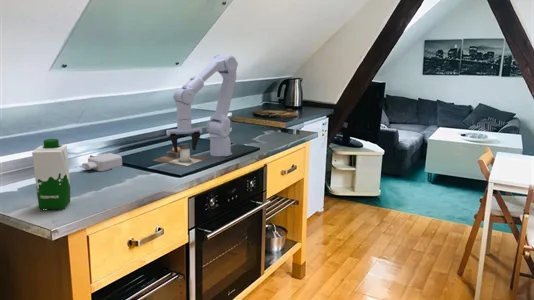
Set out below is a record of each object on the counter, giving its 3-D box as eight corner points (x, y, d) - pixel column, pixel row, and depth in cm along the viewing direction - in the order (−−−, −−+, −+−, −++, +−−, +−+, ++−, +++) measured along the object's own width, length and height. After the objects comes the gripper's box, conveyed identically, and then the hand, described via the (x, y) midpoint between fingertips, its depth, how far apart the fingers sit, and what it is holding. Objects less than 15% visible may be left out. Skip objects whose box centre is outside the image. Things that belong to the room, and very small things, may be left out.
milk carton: (74, 200, 139) (68, 138, 134) (66, 210, 130) (60, 145, 125) (44, 201, 137) (37, 138, 132) (34, 212, 129) (27, 145, 124)
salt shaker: (184, 159, 186) (183, 142, 185) (192, 160, 184) (191, 144, 183) (177, 161, 183) (177, 144, 181) (186, 162, 181) (185, 146, 179)
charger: (74, 171, 170) (108, 163, 181) (88, 175, 164) (122, 167, 176) (73, 159, 169) (108, 152, 180) (87, 163, 163) (121, 156, 175)
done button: (175, 151, 193) (175, 146, 193) (181, 152, 192) (181, 147, 191) (171, 152, 191) (171, 148, 190) (177, 153, 189) (176, 149, 189)
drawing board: (175, 154, 197) (175, 148, 196) (208, 160, 189) (208, 153, 188) (152, 162, 184) (151, 155, 183) (186, 168, 176) (186, 161, 175)
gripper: (198, 115, 186) (198, 147, 189) (163, 117, 179) (165, 150, 183) (203, 118, 180) (204, 150, 183) (168, 120, 173) (169, 154, 177)
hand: (184, 150), depth 183 cm, fingers open, 7 cm apart
